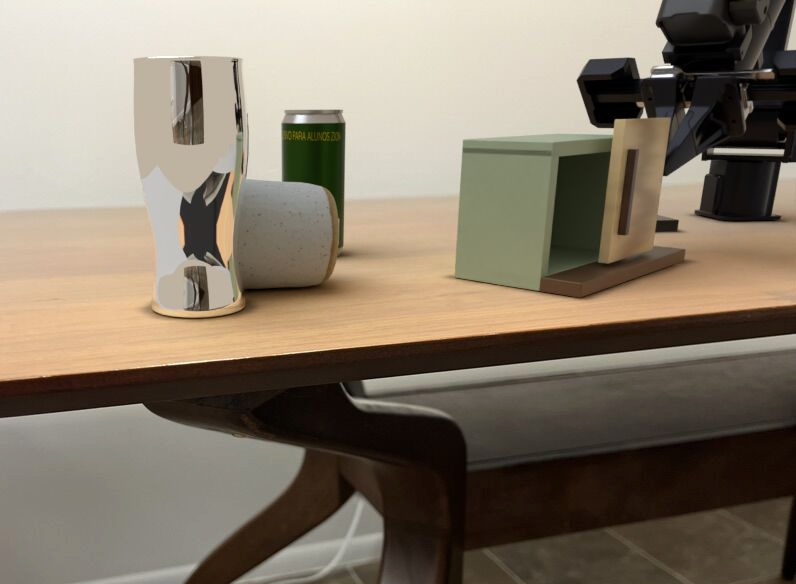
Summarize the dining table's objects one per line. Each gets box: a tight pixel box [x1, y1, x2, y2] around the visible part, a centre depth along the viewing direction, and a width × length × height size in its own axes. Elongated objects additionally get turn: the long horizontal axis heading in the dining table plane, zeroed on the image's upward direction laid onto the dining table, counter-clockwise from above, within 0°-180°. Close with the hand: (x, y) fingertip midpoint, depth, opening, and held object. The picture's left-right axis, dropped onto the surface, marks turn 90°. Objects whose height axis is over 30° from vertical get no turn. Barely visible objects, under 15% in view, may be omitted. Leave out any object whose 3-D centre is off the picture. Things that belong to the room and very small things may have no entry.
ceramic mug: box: [238, 178, 339, 290], centre depth 59 cm, size 11×8×8 cm
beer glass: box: [132, 55, 250, 319], centre depth 50 cm, size 7×7×15 cm
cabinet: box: [454, 133, 687, 299], centre depth 62 cm, size 18×10×10 cm, turn 135°
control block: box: [655, 214, 680, 233], centre depth 84 cm, size 10×7×3 cm
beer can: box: [280, 109, 347, 257], centre depth 69 cm, size 5×5×12 cm
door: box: [598, 117, 671, 264], centre depth 60 cm, size 8×1×10 cm, turn 135°
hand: (660, 172), depth 63 cm, fingers closed, pressing on door
